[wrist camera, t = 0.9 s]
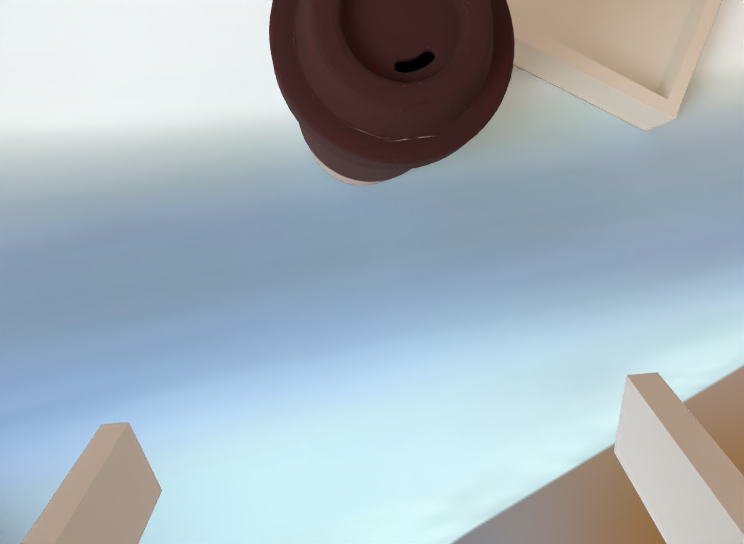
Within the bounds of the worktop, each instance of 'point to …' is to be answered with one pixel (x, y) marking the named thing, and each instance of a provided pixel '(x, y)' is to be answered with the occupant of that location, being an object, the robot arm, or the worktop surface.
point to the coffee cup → (390, 78)
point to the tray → (615, 51)
